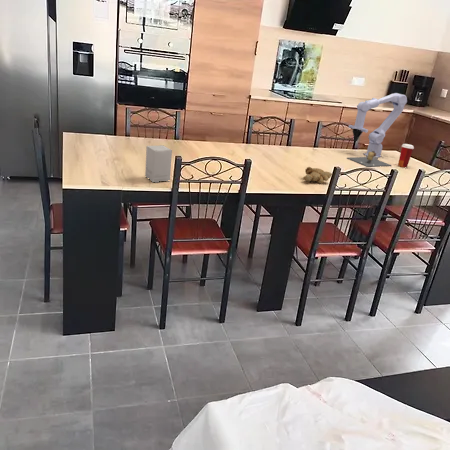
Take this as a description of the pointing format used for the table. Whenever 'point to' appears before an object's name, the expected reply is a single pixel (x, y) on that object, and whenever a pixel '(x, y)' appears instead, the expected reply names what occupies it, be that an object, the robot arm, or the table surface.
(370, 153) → the lever
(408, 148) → the paper cup
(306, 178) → the ginger root
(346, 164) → the table surface
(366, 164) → the plate
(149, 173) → the supplement box
